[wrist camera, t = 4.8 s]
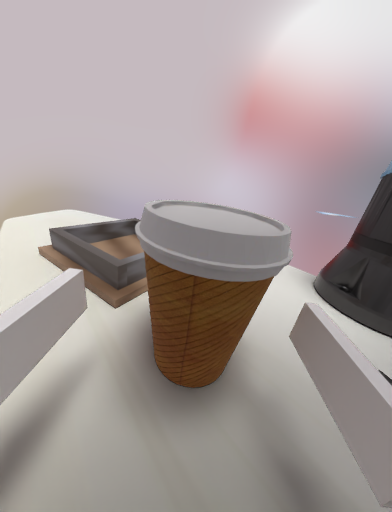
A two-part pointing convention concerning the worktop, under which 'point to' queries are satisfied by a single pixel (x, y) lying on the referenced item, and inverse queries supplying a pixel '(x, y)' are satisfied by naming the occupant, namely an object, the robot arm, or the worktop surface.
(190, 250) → the disposable coffee cup
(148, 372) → the worktop surface
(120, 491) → the worktop surface
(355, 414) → the robot arm
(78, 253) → the cup holder plate
